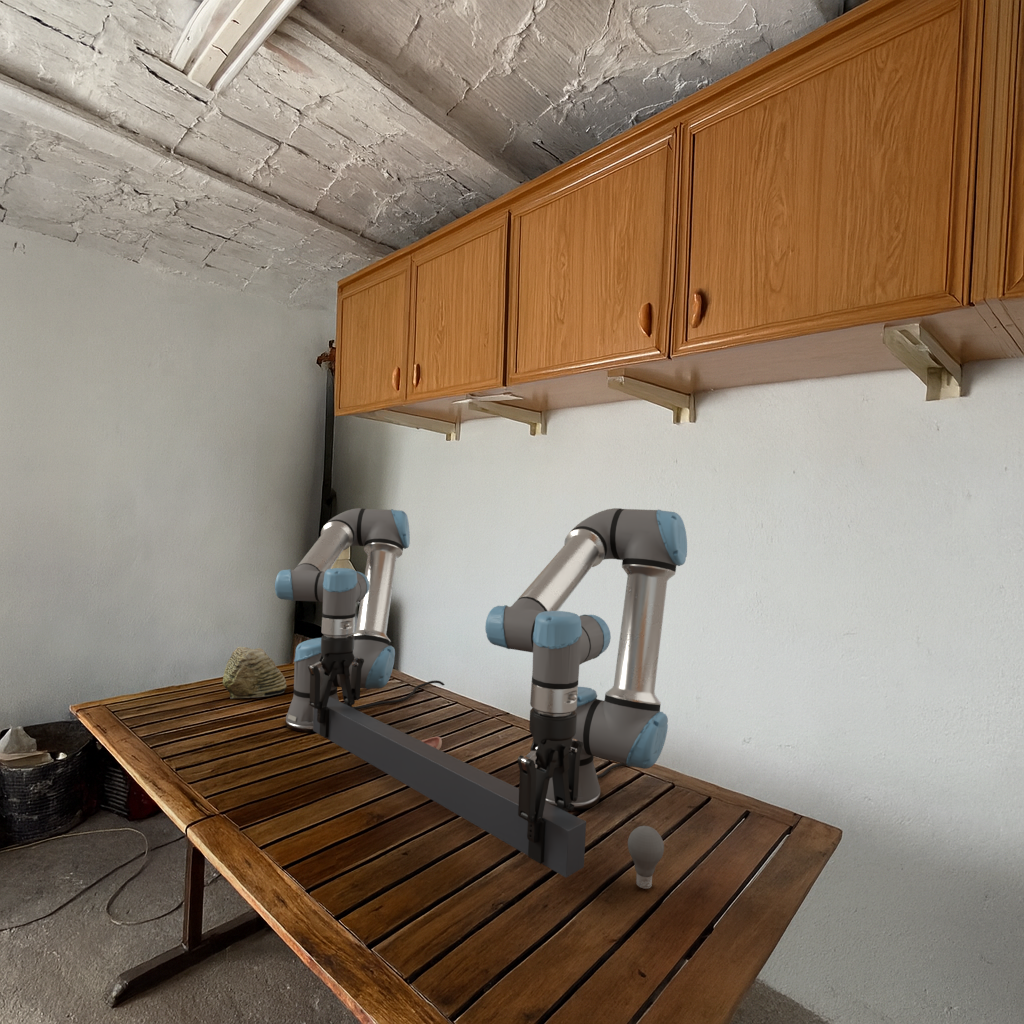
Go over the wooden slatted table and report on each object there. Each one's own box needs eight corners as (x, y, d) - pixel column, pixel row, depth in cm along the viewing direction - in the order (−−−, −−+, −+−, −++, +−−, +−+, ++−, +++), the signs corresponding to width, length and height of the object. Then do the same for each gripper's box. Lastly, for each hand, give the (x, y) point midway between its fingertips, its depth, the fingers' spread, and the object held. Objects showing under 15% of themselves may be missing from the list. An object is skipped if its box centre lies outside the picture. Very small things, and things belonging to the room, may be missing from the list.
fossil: (218, 695, 195) (220, 647, 195) (278, 685, 208) (279, 640, 207) (228, 703, 189) (230, 653, 188) (289, 692, 201) (290, 645, 201)
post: (312, 730, 151) (314, 700, 151) (329, 726, 155) (330, 697, 155) (566, 878, 96) (568, 830, 96) (584, 867, 99) (586, 821, 99)
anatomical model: (378, 746, 151) (397, 729, 163) (378, 762, 151) (396, 745, 163) (431, 753, 149) (446, 735, 160) (431, 770, 149) (445, 751, 160)
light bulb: (621, 876, 110) (624, 818, 109) (655, 875, 110) (658, 819, 110) (631, 897, 104) (634, 837, 103) (666, 897, 104) (669, 837, 104)
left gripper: (311, 642, 140) (306, 747, 140) (378, 633, 152) (374, 729, 152) (295, 636, 145) (291, 737, 145) (361, 627, 157) (357, 721, 158)
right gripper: (533, 727, 93) (526, 885, 93) (605, 704, 105) (598, 844, 106) (498, 714, 98) (491, 863, 98) (570, 693, 110) (563, 826, 111)
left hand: (333, 733), depth 149 cm, fingers closed on post, 4 cm apart
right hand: (546, 853), depth 102 cm, fingers closed on post, 4 cm apart
